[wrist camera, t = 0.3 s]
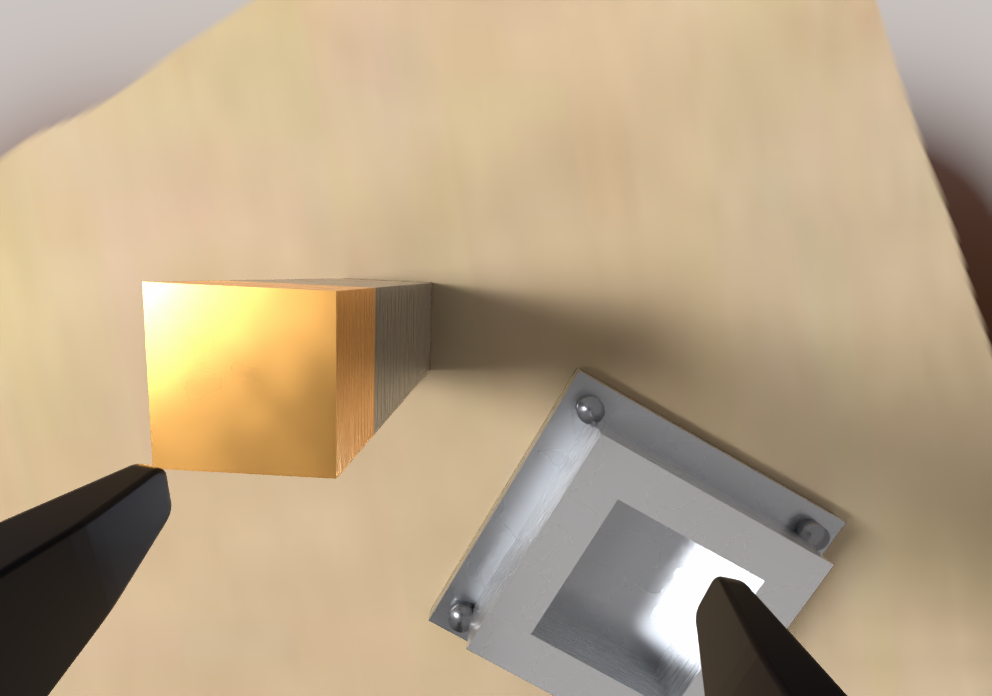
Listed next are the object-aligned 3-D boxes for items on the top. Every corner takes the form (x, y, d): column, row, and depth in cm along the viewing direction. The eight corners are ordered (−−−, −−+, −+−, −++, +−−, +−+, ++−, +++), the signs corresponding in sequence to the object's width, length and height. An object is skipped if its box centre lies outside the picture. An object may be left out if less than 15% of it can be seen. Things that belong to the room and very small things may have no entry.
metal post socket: (672, 738, 25) (696, 806, 22) (431, 609, 25) (419, 659, 22) (834, 514, 24) (886, 552, 20) (577, 367, 23) (588, 383, 20)
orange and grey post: (429, 370, 23) (335, 478, 11) (343, 365, 23) (153, 468, 11) (431, 282, 23) (336, 291, 10) (343, 278, 23) (142, 282, 10)
